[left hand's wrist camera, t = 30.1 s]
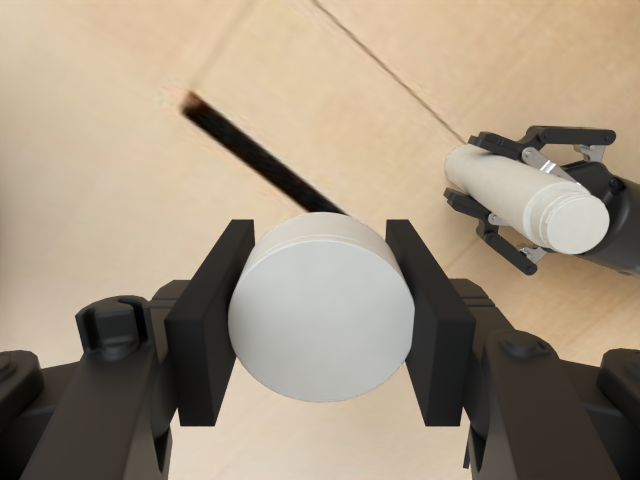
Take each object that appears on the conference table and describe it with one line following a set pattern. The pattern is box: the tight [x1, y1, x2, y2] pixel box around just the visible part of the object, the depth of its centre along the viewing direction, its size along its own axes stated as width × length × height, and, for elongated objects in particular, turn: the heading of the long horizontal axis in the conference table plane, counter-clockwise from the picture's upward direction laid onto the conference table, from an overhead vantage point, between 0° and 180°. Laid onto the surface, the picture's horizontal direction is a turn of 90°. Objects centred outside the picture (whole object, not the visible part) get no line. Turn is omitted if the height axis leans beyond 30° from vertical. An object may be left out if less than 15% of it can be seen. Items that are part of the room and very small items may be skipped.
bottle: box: [444, 144, 609, 254], centre depth 31 cm, size 4×4×20 cm
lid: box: [228, 212, 415, 402], centre depth 11 cm, size 5×5×2 cm
